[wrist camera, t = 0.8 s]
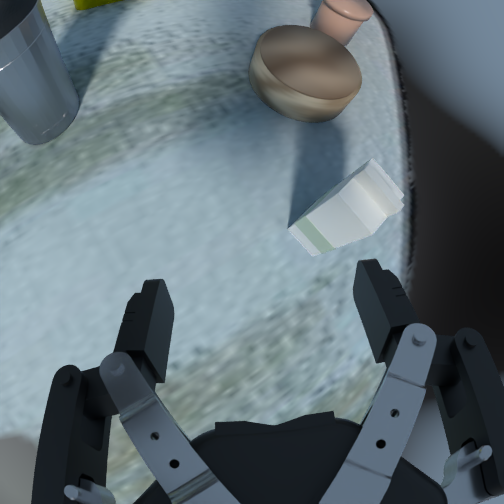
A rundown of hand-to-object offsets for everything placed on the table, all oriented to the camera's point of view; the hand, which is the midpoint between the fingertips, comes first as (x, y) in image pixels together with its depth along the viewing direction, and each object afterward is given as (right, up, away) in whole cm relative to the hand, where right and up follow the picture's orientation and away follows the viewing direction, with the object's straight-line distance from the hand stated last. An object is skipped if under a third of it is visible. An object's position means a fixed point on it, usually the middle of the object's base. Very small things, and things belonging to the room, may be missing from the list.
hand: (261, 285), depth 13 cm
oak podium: (+6, +24, +24) cm, 35 cm away
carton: (+6, +4, +21) cm, 22 cm away
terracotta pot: (+12, +37, +27) cm, 48 cm away
